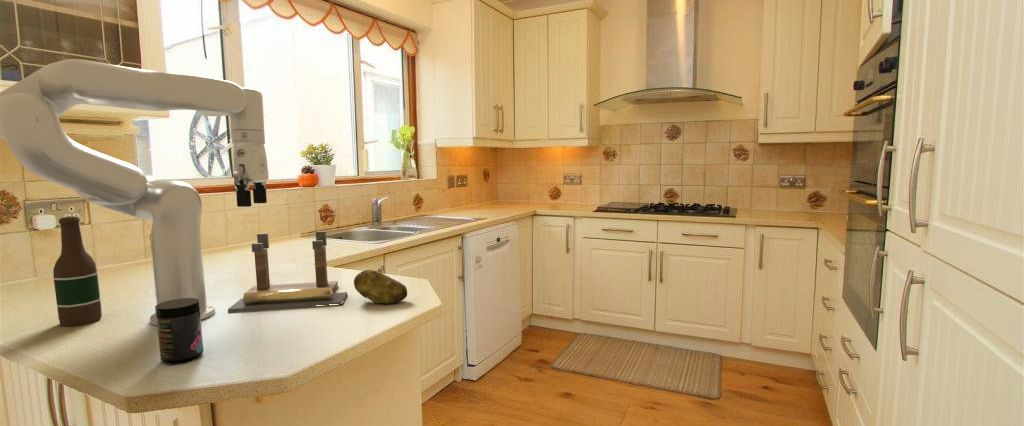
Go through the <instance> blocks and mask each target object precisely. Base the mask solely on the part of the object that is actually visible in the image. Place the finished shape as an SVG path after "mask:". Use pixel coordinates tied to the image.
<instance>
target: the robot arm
mask: <svg viewBox="0 0 1024 426" xmlns="http://www.w3.org/2000/svg"><path fill="white" fill-rule="evenodd" d="M76 105H92V106H101V107H110V108H121V109H122V108H123V109H131V110H140V111H151V112H152V111H155V112H156V111H157V112H164V111H165V112H166V111H179V110H180V111H182V110H186V111H187V110H189V111H195V112H197V113H199V114H200V115H203V116H207V117H220V116H221V117H222V116H224V117H225V116H229V119H230V135H231V145H232V144H233V172H232V176H233V183H234V184H233V185H234V188H235V194H236V195H235V196H236V206H237V207H238V208H239V207H240V208H247V207H248V208H249V207H251V206H252V200H253V203H254V204H267V202H268V200H267V183H266V182H268V180H269V169H268V168H269V167H268V161H267V159H268V158H267V151H266V148H265V144H266V138H265V137H266V136H265V119H264V102H263V94H262V92H261V90H258V89H256V88H252V87H242V86H240V85H239V84H237V83H235V82H233V81H231V80H230V81H229V80H224V79H218V78H213V77H207V76H201V75H191V74H181V73H172V72H165V71H159V70H158V71H157V70H148V69H141V68H136V67H135V68H134V67H129V66H123V65H118V64H111V63H106V62H98V61H94V60H87V59H82V58H81V59H80V58H79V59H78V58H69V59H68V58H67V59H63V60H59V61H55V62H51V63H49V64H46V65H44V66H42V67H40V68H39V69H38V70H36V71H34V72H32V73H31V74H29V75H28V76H25V78H23V79H21V80H19V81H18V82H16V83H14V84H12V85H10V86H9V87H7V88H5V89H3V90H2V91H0V141H1V140H2V141H5V142H6V144H7V146H8V148H9V150H10V152H11V154H12V155H13V156H14V158H15V159H16V160H17V162H18V163H19V164H21V166H22V167H24V168H25V169H26V170H28V171H29V172H30V173H31V174H33V175H35V176H36V177H39V178H42V179H44V180H46V181H48V182H51V183H53V184H57V185H59V186H63V187H65V188H68V189H71V190H74V191H75V192H76V194H77V196H79V197H80V198H82V199H83V200H84V201H86V202H89V203H91V204H94V205H96V206H99V207H103V208H106V209H109V210H112V211H115V212H118V213H121V214H124V215H128V216H131V217H134V218H138V219H141V220H144V221H145V220H146V221H152V224H151V229H150V241H149V243H150V253H151V254H150V255H151V261H152V270H153V271H152V272H153V280H154V291H155V301H156V305H157V304H159V303H162V302H166V301H170V300H175V299H182V298H196V299H199V304H200V317H201V320H204V319H207V318H209V317H211V316H213V315H214V314H215V312H216V310H215V309H216V308H215V306H213V305H211V304H208V303H207V295H206V293H207V291H206V283H205V273H204V272H205V271H204V260H203V249H202V240H201V239H202V237H201V223H202V220H201V219H202V211H203V203H202V202H203V201H202V197H201V195H200V193H199V191H197V189H195V187H194V186H192V185H190V184H189V183H188V182H187V183H186V182H184V181H179V180H165V179H164V180H163V179H162V180H160V179H159V180H157V179H153V178H151V177H148V176H146V174H145V173H144V172H143V170H141V169H140V168H139V167H137V166H136V165H134V164H131V163H130V162H127V161H123V160H120V159H117V158H116V157H115V158H114V157H112V156H109V155H107V154H104V153H101V152H99V151H97V150H94V149H91V148H89V147H86V146H85V145H82V144H80V143H78V142H76V141H74V140H73V139H71V138H70V137H69V136H68V134H66V132H65V131H64V129H63V127H62V124H61V121H60V116H62V115H64V114H65V113H67V112H68V111H69V110H71V109H72V108H74V107H75V106H76ZM251 184H252V185H253V187H254V188H252V193H251V190H250V186H251ZM252 195H253V196H252ZM149 323H150V324H152V325H154V326H157V319H156V312H154V313H153V314H151V315H150V317H149Z"/></svg>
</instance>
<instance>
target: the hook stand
mask: <svg viewBox="0 0 1024 426" xmlns="http://www.w3.org/2000/svg"><path fill="white" fill-rule="evenodd" d="M256 238H257V239H256V240H257V242H253V243H251V252H252V253H254V265H255V266H254V267H255V278H256V279H255V280H256V281H255V282H256V285H253V286H252V287H251V288H249V289H248V290H246V292H261V291H278V290H295V289H312V288H329V287H331V288H332V292H334V290H335V289H336V290H337V288H338V287H337V285H338V286H339V282H338V280H333V281H328V269H327V268H328V266H327V265H328V264H327V262H328V261H327V249H326V247H327V231H326V230H320V231H315V240H312V241H311V242H312V250H313V252H314V253H313V254H314V255H313V256H314V266H315V267H314V269H315V282H314V281H313V282H301V283H300V282H299V283H278V284H270V283H271V282H270V269H269V267H270V266H269V256H268V255H269V253H268V249H270V244H269V243H270V242H269V233H267V232H266V233H257V234H256ZM336 287H337V288H336ZM336 290H335V291H336ZM334 293H335V292H334Z"/></svg>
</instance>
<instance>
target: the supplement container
mask: <svg viewBox="0 0 1024 426" xmlns="http://www.w3.org/2000/svg"><path fill="white" fill-rule="evenodd" d="M154 308H155V309H154V311H155V312H154V313H156V319H157V325H156V327H157V337H158V347H159V349H158V350H159V357H160V361H161V362H162V363H163V364H165V365H182V364H186V363H189V361H190V362H192V360H193V361H195V360H197V359H198V358H200V357H202V355H203V354H204V342H203V331H202V330H203V329H202V319H201V317H200V304H199V299H196V298H182V299H175V300H170V301H166V302H162V303H159V304H157V303H156V305H155V306H154ZM181 363H182V364H181Z"/></svg>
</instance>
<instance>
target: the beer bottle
mask: <svg viewBox="0 0 1024 426" xmlns="http://www.w3.org/2000/svg"><path fill="white" fill-rule="evenodd" d="M80 222H81V219H80V217H79V216H63V217H60V218H59V220H58V224H59V225H60V238H61V248H60V249H61V251H60V254H59V257H58V258H57V260H56V261H55V264H54V267H53V269H52V270H53V271H52V272H53V273H52V275H53V283H54V285H53V286H54V292H55V301H56V307H57V316H58V317H57V318H58V321H59V325H60V326H61V327H77V326H84V325H90V324H93V323H94V322H98V321H100V320H101V319H102V315H103V313H102V311H103V310H102V302H101V295H100V294H101V293H100V292H101V291H100V285H99V284H100V283H99V276H98V268H97V264H96V262H95V260H94V258H93V257H92V256H91V255H90V254H89V253H88V252H87V251H86V249H85V246H84V243H83V237H82V232H81V227H80Z"/></svg>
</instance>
